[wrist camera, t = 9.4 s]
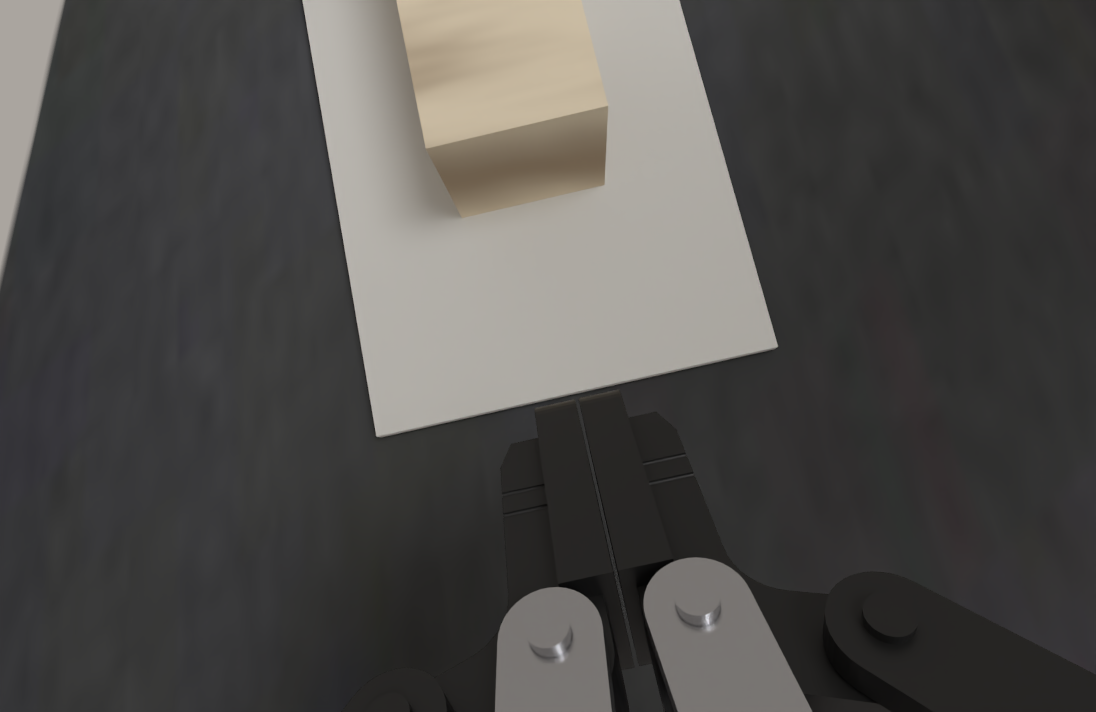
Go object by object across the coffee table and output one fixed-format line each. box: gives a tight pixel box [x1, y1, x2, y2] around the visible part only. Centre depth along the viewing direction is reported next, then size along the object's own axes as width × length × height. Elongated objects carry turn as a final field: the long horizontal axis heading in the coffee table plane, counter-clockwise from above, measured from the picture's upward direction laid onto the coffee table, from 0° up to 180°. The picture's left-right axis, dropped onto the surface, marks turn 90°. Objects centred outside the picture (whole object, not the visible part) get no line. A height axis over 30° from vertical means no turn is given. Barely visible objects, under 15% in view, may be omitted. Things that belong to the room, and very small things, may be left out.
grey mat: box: [303, 0, 778, 437], centre depth 28 cm, size 24×16×1 cm, turn 12°
